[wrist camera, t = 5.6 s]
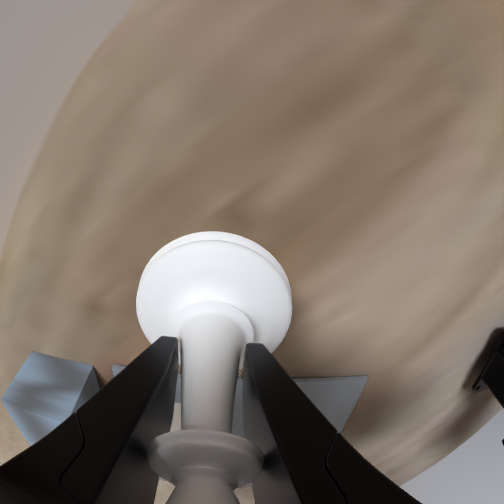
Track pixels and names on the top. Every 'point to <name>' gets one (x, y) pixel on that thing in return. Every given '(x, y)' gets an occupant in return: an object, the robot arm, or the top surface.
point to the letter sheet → (317, 390)
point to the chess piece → (211, 353)
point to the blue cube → (47, 393)
